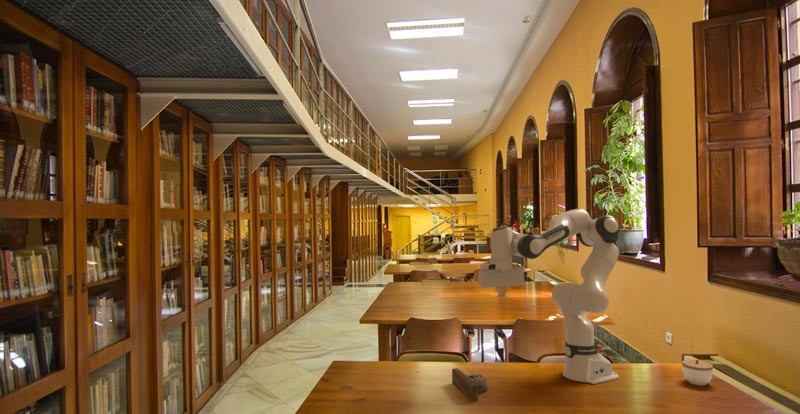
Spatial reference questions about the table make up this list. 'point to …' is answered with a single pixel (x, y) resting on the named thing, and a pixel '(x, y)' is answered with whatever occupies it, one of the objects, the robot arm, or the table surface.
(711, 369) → the lidded jar
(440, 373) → the table surface
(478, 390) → the stone
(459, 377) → the board
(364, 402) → the table surface
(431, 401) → the table surface
